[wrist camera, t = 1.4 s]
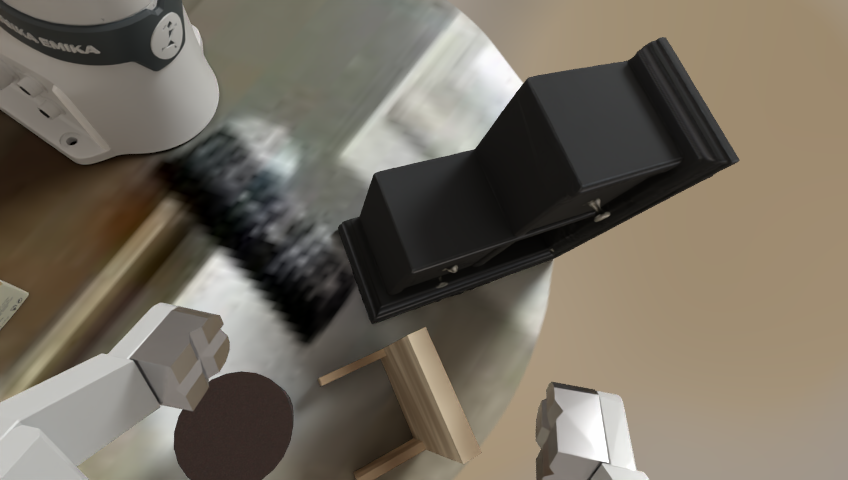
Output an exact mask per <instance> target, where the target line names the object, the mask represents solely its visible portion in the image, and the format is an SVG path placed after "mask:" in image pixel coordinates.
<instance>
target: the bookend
mask: <svg viewBox="0 0 848 480" xmlns="http://www.w3.org/2000/svg"><path fill="white" fill-rule="evenodd" d="M738 161H739V158H738V157H737V155H736V153H735V152H734V150H733V148H732V147H731V145H730V144H729V142H728V140H727V139H726V137H725V135H724V133H723V132H722V130H721V129H720V127H719V125H718V124H717V122H716V120H715V119H714V117H713V115H712V114H711V112H710V110H709V108H708V107H707V105H706V103H705V102H704V100H703V99H702V97H701V95H700V94H699V92H698V90H697V89H696V87H695V86H694V84H693V82H692V80H691V79H690V77H689V75H688V73H687V72H686V70H685V68H684V67H683V65H682V63H681V62H680V60H679V58H678V57H677V55H676V54H675V52H674V50H673V49H672V47H671V45H670V44H669V42H668V41H667V39H666V38H664V37H662V38H659V39H657V40H656V41H652V42H650V43H649V44H647V45H645V46H644V47H643V48H642V49H641V50H639V51H638V52H637V53H636V55H635V56H634V57H633V58H631V59H630V60H628V61H624V62H618V63H611V64H605V65H598V66H593V67H587V68H579V69H573V70H567V71H561V72H555V73H549V74H544V75H538V76H533V77H529V78H528V79H527V80H526V81H525V82H524V83H523V85H522V86H521V87H520V89H519V90H518V91H517V92H516V94H515V95H514V97H513V98H512V99H511V101H510V102H509V103H508V104H507V106H506V107H505V109H504V110H503V111H502V113H501V114H500V116H499V117H498V118H497V120H496V121H495V123H494V124H493V125H492V127H491V128H490V130H489V131H488V132H487V134H486V135H485V137H484V138H483V139H482V140H481V142H480V143H479V145H478V146H477V147H476V149H474V150H470V151H466V152H462V153H458V154H454V155H450V156H445V157H440V158H436V159H432V160H427V161H423V162H418V163H414V164H410V165H405V166H401V167H397V168H392V169H388V170H384V171H380V172H377V173H375V174H374V175H373V178H372V181H371V184H370V187H369V190H368V193H367V196H366V199H365V202H364V205H363V209H362V211H361V214H360V217H357V218H353V219H350V220H347V221H344V222H342V224H341V225H339V227H338V230H339V233H340V236H341V239H342V242H343V244H344V247H345V250H346V253H347V256H348V259H349V262H350V264H351V267H352V270H353V274H354V276H355V280H356V283H357V284H358V288H359V291H360V294H361V296H362V300H363V302H364V304H365V307H366V310H367V313H368V315H369V318H370V321H371V323H372V324H374V323H377V322H380V321H383V320H386V319H389V318H391V317H394V316H397V315H399V314H402V313H405V312H407V311H410V310H413V309H417V308H419V307H421V306H425V305H427V304H430V303H433V302H438V301H440V300H441V299H444V298H446V297H449V296H453V295H457V294H461V293H462V292H463V291H466V290H471V289H474V288H476V287H479V286H481V285H484V284H487V283H489V282H491V281H494V280H497V279H499V278H502V277H504V276H507V275H510V274H513V273H516V272H518V271H521V270H524V269H527V268H529V267H532V266H535V265H538V264H541V263H543V262H546V261H549V260H551V259H554V258H556V257H558V256H560V255H562V254H564V253H566V252H568V251H570V250H571V249H574V248H575V247H577V246H579V245H581V244H583V243H585V242H587V241H588V240H590V239H592V238H595V237H596V236H598V235H600V234H602V233H604V232H606V231H608V230H610V229H611V228H613V227H615V226H617V225H619V224H621V223H623V222H625V221H627V220H628V219H630V218H632V217H634V216H636V215H638V214H640V213H642V212H644V211H646V210H647V209H649V208H651V207H653V206H655V205H657V204H659V203H661V202H663V201H665V200H667V199H669V198H670V197H672V196H674V195H676V194H678V193H680V192H682V191H684V190H686V189H687V188H689V187H692V186H694V185H695V184H697V183H699V182H701V181H703V180H705V179H707V178H710V177H712V176H713V175H714V174H715V173H717V172H719V171H720V170H723V169H725V168H727V167H729V166H731V165H733V164H735V163H737V162H738Z"/></svg>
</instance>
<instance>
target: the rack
mask: <svg viewBox="0 0 848 480" xmlns="http://www.w3.org/2000/svg"><path fill="white" fill-rule="evenodd" d="M379 359H381V361H382V363H383V366H384V368H385V371H386V373H387V375H388V378H389V380H390V383H391V385H392V387H393V390H394V392H395V395H396V397H397V399H398V402H399V404H400V407H401V409H402V411H403V414H404V416H405V419H406V421H407V423H408V426H409V428H410V430H411V433H412V435H413V439H412V440H410V441H408V442H406V443H405V444H403V445H401V446H399V447H397V448H396V449H394V450H392V451H390V452H389V453H387V454H385V455H383V456H382V457H380V458H378V459H376V460H374V461H373V462H371V463H369V464H367V465H366V466H364V467H362V468H360V469H359V470H357V471H355V472H353V473H354V476H355V479H356V480H374V479H376V478H378V477H379V476H381V475H383V474H385V473H386V472H388V471H390V470H391V469H393V468H395V467H397V466H398V465H400V464H402V463H403V462H405V461H407V460H409V459H410V458H412V457H414V456H415V455H417V454H419V453H421V452H422V451H424V450H429V451H431V452H434V453H436V454H439V455H441V456H444V457H446V458H449V459H452V460H454V461H457V462H459V463H462V464H465V463H466V462H468V461H469V460H471V459H473V458H474V457H476V456H478V455H479V454H481V453H482V452H481V450H480V447H479V445H478V443H477V441H476V438H475V436H474V434H473V432H472V430H471V427H470V425H469V423H468V421H467V418H466V416H465V414H464V412H463V409H462V407H461V405H460V403H459V400H458V398H457V396H456V394H455V392H454V389H453V387H452V385H451V383H450V380H449V378H448V376H447V374H446V371H445V369H444V367H443V365H442V362H441V360H440V358H439V356H438V354H437V351H436V349H435V347H434V345H433V342H432V340H431V338H430V336H429V333H428V331H427V329H426V327H425V328H422V329H420V330H418V331H416V332H414V333H411V334H409V335H407V336H405V337H403V338H402V339H400V340H398V341H396V342H394V343H392V344H391V345H389V346H387V347H385V348H383V349H381V350H379V351H377V352H375V353H372V354H370V355H368V356H366V357H364V358H361V359H359V360H357V361H355V362H353V363H351V364H348V365H346V366H344V367H342V368H340V369H338V370H335V371H333V372H331V373H329V374H327V375H325V376H322V377H320V378H318V382H319V385H320V387H321V386H323V385H325V384H327V383H329V382H332V381H334V380H336V379H338V378H340V377H342V376H344V375H347V374H349V373H351V372H353V371H355V370H357V369H359V368H361V367H364V366H366V365H368V364H370V363H372V362H374V361H376V360H379Z"/></svg>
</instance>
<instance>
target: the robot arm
mask: <svg viewBox="0 0 848 480" xmlns="http://www.w3.org/2000/svg"><path fill="white" fill-rule="evenodd" d="M218 100H219V88H218V83H217V80H216V77H215V75H214V73H213V71H212V69H211V67H210V66H209V64H208V62H207V60H206V58H205V56H204V54H203V42H202V38H201V36H200V33H199V31H198V29H197V28H196V27H195V26H193V25H191V23H190V21H189V18H188V16H187V14H186V11H185V9H184V6H183V4H182V0H0V110H2V111H3V112H4V113H6V114H7V115H9V116H10V117H11V118H13V119H14V120H16V121H17V122H19V123H20V124H21V125H23V126H24V127H26V128H27V129H28V130H30V131H31V132H33V133H34V134H36V135H37V136H38V137H40V138H41V139H43V140H44V141H45V142H47V143H48V144H50V145H51V146H53V147H54V148H55V149H57V150H58V151H60V152H61V153H62V154H64V155H65V156H67V157H68V158H70V159H71V160H72V161H74V162H76V163H78V164H83V165H87V164H93V163H97V162H100V161H103V160H106V159H109V158H111V157H114V156H117V155H123V154H142V153H152V152H158V151H163V150H167V149H170V148H173V147H176V146H178V145H180V144H183V143H185V142H186V141H188V140H190V139H191V138H193V137H194V136H196V135H197V134H198V133H200V132H201V131H202V130H203V129H204V128H205V127H206V126H207V124H208V123H209V122H210V120H211V119H212V117H213V115H214V113H215V111H216V108H217V105H218ZM74 141H77V143H76V144H75V145H70V144H71V143H72V142H74ZM222 326H223V321H222V319H221V317H220V315H216V314H211V313H207V312H202V311H198V310H193V309H188V308H184V307H180V306H175V305H170V304H165V303H159V304H157V305H155V306H153V307H152V308H151V309H150V310H149V311H148V312H147V313H146V314H145V315H144V316H143V317H142V318H141V319H140V320H139V322H138V323H137V324H136V325H135V326H134V327H133V328H132V329H131V330H130V331H129V332H128V333H127V334H126V335H125V336H124V337H123V339H122V340H121V341H120V342H119V343H118V344H117V345H116V346H115V347H114V348H113V349H112V350H111V351H110V352H109V353H108V354H100V355H98V356H96V357H93V358H91V359H89V360H87V361H85V362H83V363H81V364H79V365H77V366H75V367H73V368H71V369H69V370H67V371H65V372H62V373H60V374H58V375H56V376H54V377H52V378H50V379H48V380H46V381H44V382H42V383H40V384H38V385H36V386H33V387H31V388H29V389H27V390H25V391H23V392H21V393H19V394H17V395H15V396H13V397H11V398H9V399H7V400H5V401H2V402H0V480H89V479H88V478H87V477H86V476H85V475H84V474H83V473H82V472H81V471H80V470H79V469H78V468H77V466H78V465H79V464H81V463H82V462H84V461H85V460H86V459H88V458H89V457H91V456H92V455H93V454H95V453H96V452H98V451H99V450H100V449H102V448H103V447H105V446H106V445H108V444H109V443H110V442H112V441H113V440H115V439H116V438H117V437H119V436H120V435H122V434H123V433H124V432H126V431H127V430H129V429H130V428H132V427H133V426H134V425H136V424H137V423H139V422H140V421H141V420H143V419H144V418H146V417H147V416H148V415H150V414H151V413H153V412H154V411H156V410H157V409H158V408H160V405H164V406H169V407H174V408H179V409H184V410H189V411H194V409H195V408H196V406H197V405H198V403H199V402H200V400H201V399H202V397H203V396H204V394H205V393H206V391H207V390H208V388H209V379H208V378H210V377H211V376H213V375H215V374H216V373H218V372H220V370H221V368H222V367H223V365H224V364H225V362H226V359H227V356H228V353H229V349H230V342H229V339H228V336H227V335H226V334H225V333H224V332H223V331H222V330H221V327H222ZM546 396H547V399H544V400H542V401H541V403H540V406H539V409H538V413H537V419H536V442H537V443H538V445H539V446H540V448H541V450H540V452H539V454H538V457H537V459H536V479H537V480H649V479H648V477H647V476H646V474H645V473H644V472H641V471H638V470H636V465H635V460H634V455H633V450H632V445H631V440H630V435H629V430H628V425H627V420H626V414H625V410H624V405H623V400H622V399H621V397H620V396H619V395H616V394H611V393H605V392H599V391H595V390H593V389H588V388H583V387H577V386H571V385H566V384H561V383H556V382H551V383H550V384H549V385H548V388H547V390H546Z"/></svg>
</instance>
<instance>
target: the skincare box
mask: <svg viewBox="0 0 848 480" xmlns="http://www.w3.org/2000/svg"><path fill="white" fill-rule="evenodd" d="M28 295H29V293H28V292H26V291H24V290H22V289H19V288H17V287H15V286H13V285H11V284H9V283H6V282H4V281H2V280H0V330H1V329H2V327H3V326H4V325H5V324H6V323H7V322H8V320H9V319H10V318H11V317H12V316H13V314H14V313H15V312H16V311H17V310H18V308H19V307H20V306H21V304H22V303H23V302H24V301H25V299H26V298H27V297H28Z"/></svg>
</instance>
